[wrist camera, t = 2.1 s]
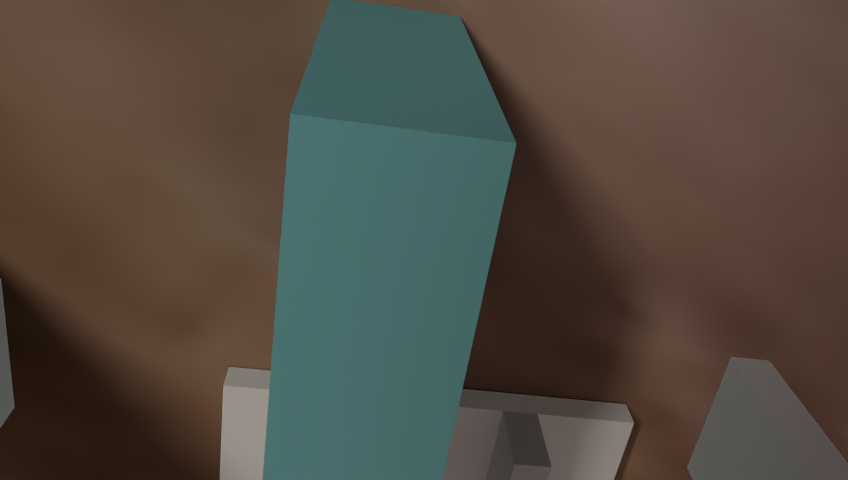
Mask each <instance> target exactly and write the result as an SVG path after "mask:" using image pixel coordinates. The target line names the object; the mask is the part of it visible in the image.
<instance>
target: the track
mask: <svg viewBox="0 0 848 480" xmlns="http://www.w3.org/2000/svg"><path fill="white" fill-rule="evenodd" d="M270 374H271V371H268V370H258V369H247V368H237V367H229V369H228V372H227V375H226V379H225V382H224V385H223V409H222V434H221V458H220V480H263V467H264V453H265V440H266V427H267V414H268V401H269V387H270ZM633 425H634V422H633V419H632V417H631V415H630V412H629V410H628V408H627V405H626V404H618V403H607V402H597V401H586V400H575V399H565V398H554V397H544V396H533V395H523V394H512V393H501V392H491V391H480V390H470V389H462V393H461V398H460V403H459V407H458V412H457V416H456V421H455V425H454V430H453V434H452V439H451V443H450V448H449V452H448V457H447V462H446V466H445V471H444V475H443V480H614V478H615V475H616V473H617V470H618V467H619V464H620V461H621V459H622V456H623V453H624V450H625V447H626V445H627V442H628V439H629V436H630V433H631V431H632V428H633Z"/></svg>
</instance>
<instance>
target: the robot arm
mask: <svg viewBox="0 0 848 480" xmlns="http://www.w3.org/2000/svg"><path fill="white" fill-rule="evenodd" d="M14 407H15V406H14V396H13V387H12V377H11V368H10V358H9V349H8V339H7V330H6V320H5V311H4V301H3V292H2V282H1V279H0V428H1V426H2V425H3V423H4V422H5V421H6V419H7V418H8V416H9V415H10V413H11V412H12V410H13V409H14ZM687 469H688V471H689V473H690V475H691V477H692V479H693V480H848V463H847V461H846V460H845V459H844V457H843V456H842V455H841V453H840V452H839V451H838V450H837V448H836V447H835V446H834V444H833V443H832V442H831V440H830V439H829V438H828V437H827V435H826V434H825V433H824V431H823V430H822V429H821V427H820V426H819V425H818V424H817V422H816V421H815V420H814V418H813V417H812V416H811V414H810V413H809V412H808V411H807V409H806V408H805V407H804V405H803V404H802V403H801V401H800V400H799V399H798V398H797V396H796V395H795V394H794V392H793V391H792V390H791V388H790V387H789V386H788V385H787V383H786V382H785V381H784V379H783V378H782V377H781V375H780V374H779V373H778V372H777V370H776V369H775V368H774V366H773V365H772V364H771V362H770V361H767V360H758V359H748V358H739V357H731V358H730V360H729V363H728V365H727V368H726V370H725V373H724V375H723V378H722V380H721V383H720V385H719V388H718V390H717V393H716V395H715V398H714V401H713V403H712V406H711V408H710V411H709V413H708V416H707V418H706V421H705V423H704V426H703V428H702V431H701V433H700V436H699V438H698V441H697V443H696V446H695V448H694V451H693V453H692V456H691V458H690V461H689V463H688V466H687Z"/></svg>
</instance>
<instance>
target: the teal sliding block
mask: <svg viewBox="0 0 848 480" xmlns="http://www.w3.org/2000/svg"><path fill="white" fill-rule="evenodd" d="M516 144H517V143H516V141H515V139H514V137H513V134H512V132H511V130H510V128H509V125H508V123H507V121H506V119H505V116H504V114H503V112H502V110H501V107H500V105H499V103H498V101H497V98H496V96H495V94H494V92H493V89H492V87H491V85H490V83H489V80H488V78H487V76H486V74H485V71H484V69H483V67H482V65H481V62H480V60H479V58H478V56H477V53H476V51H475V49H474V47H473V44H472V42H471V40H470V38H469V35H468V33H467V31H466V29H465V26H464V24H463V22H462V20H461V17H459V16H452V15H446V14H439V13H432V12H426V11H419V10H412V9H405V8H399V7H392V6H385V5H379V4H372V3H365V2H359V1H352V0H331V1H330V4H329V6H328V9H327V12H326V15H325V18H324V20H323V23H322V26H321V29H320V32H319V34H318V37H317V40H316V43H315V46H314V48H313V51H312V54H311V57H310V60H309V63H308V65H307V68H306V71H305V74H304V77H303V79H302V82H301V85H300V88H299V91H298V93H297V96H296V99H295V102H294V105H293V107H292V110H291V113H290V123H289V137H288V150H287V163H286V176H285V189H284V203H283V216H282V229H281V242H280V255H279V269H278V282H277V295H276V308H275V321H274V335H273V348H272V361H271V374H270V387H269V401H268V414H267V427H266V440H265V453H264V467H263V480H443V475H444V471H445V466H446V462H447V457H448V452H449V448H450V443H451V439H452V434H453V430H454V425H455V421H456V416H457V412H458V407H459V403H460V398H461V393H462V389H463V384H464V380H465V375H466V371H467V366H468V362H469V357H470V353H471V348H472V344H473V339H474V334H475V330H476V325H477V321H478V316H479V312H480V307H481V303H482V298H483V294H484V289H485V284H486V280H487V275H488V271H489V266H490V262H491V257H492V253H493V248H494V244H495V239H496V235H497V230H498V225H499V221H500V216H501V212H502V207H503V203H504V198H505V194H506V189H507V185H508V180H509V176H510V171H511V166H512V162H513V157H514V153H515V148H516Z"/></svg>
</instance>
